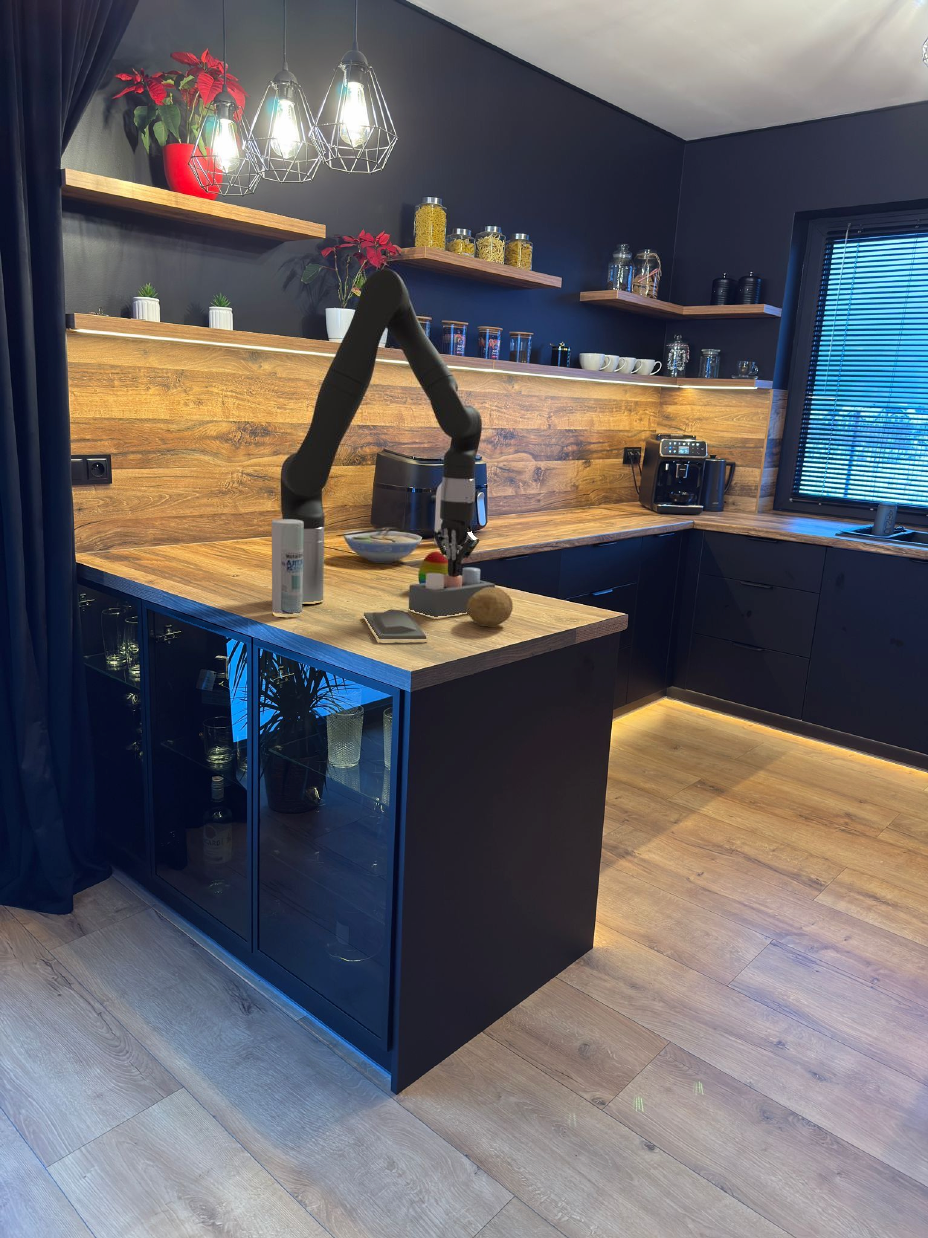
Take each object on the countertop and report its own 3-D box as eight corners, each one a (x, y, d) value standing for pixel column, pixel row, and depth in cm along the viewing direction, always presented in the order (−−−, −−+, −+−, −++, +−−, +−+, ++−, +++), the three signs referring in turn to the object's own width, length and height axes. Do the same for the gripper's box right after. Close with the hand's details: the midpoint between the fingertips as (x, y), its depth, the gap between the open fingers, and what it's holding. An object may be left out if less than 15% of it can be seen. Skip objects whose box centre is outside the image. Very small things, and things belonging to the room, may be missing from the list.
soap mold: (410, 620, 190) (410, 605, 189) (428, 646, 171) (429, 628, 170) (362, 621, 188) (363, 605, 187) (375, 646, 169) (376, 628, 168)
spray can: (289, 610, 191) (289, 518, 186) (309, 615, 187) (310, 521, 182) (265, 614, 186) (265, 520, 181) (284, 620, 182) (285, 524, 178)
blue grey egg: (469, 597, 199) (471, 571, 198) (457, 594, 202) (459, 568, 201) (482, 595, 202) (483, 569, 201) (470, 592, 205) (471, 566, 203)
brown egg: (451, 604, 196) (453, 578, 194) (439, 601, 198) (440, 575, 197) (464, 602, 198) (466, 576, 197) (452, 599, 201) (453, 573, 200)
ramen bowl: (382, 572, 239) (383, 542, 237) (323, 559, 253) (323, 531, 251) (439, 562, 259) (440, 534, 257) (381, 551, 272) (382, 525, 270)
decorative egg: (421, 595, 213) (423, 554, 211) (414, 588, 221) (416, 548, 219) (454, 595, 215) (456, 554, 213) (446, 588, 223) (447, 549, 221)
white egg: (433, 604, 192) (434, 577, 190) (421, 600, 194) (422, 574, 193) (446, 602, 194) (448, 575, 193) (434, 598, 197) (435, 572, 196)
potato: (513, 619, 194) (515, 583, 192) (509, 635, 180) (511, 597, 178) (469, 616, 195) (471, 580, 193) (462, 631, 181) (464, 593, 179)
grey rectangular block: (435, 619, 190) (437, 592, 188) (408, 611, 196) (409, 584, 194) (493, 609, 202) (495, 584, 201) (466, 602, 208) (467, 577, 207)
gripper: (424, 495, 195) (421, 572, 199) (466, 502, 186) (462, 582, 190) (449, 494, 200) (446, 569, 204) (491, 501, 191) (486, 579, 195)
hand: (453, 575), depth 197 cm, fingers closed
